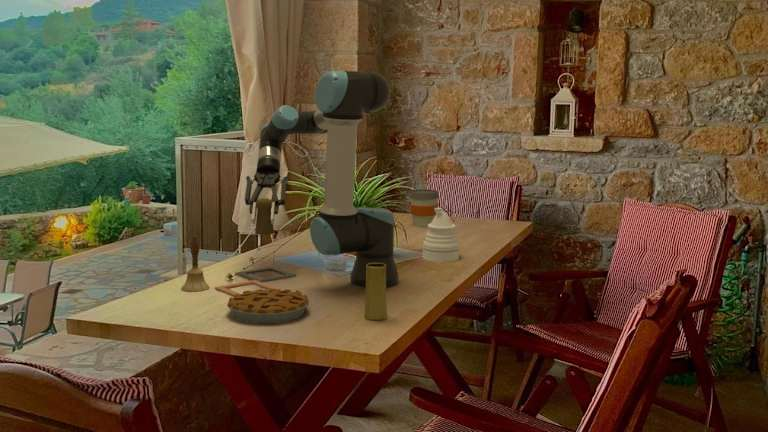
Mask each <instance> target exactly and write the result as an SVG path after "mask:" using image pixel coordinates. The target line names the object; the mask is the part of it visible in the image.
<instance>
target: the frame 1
mask: <svg viewBox="0 0 768 432" xmlns="http://www.w3.org/2000/svg"><path fill="white" fill-rule="evenodd" d="M250 285H253V286H257V287H259V288H262V289H264V290H270V289H271V288H272V289H277V290H281V288H279V287H276V286H273V285H271V284H268V283H266V282H259V281H257V280H248V281H247V280H246V281H242V282H236V283H231V284H225V285H219V286H214V289H215V290H216V291H219V292H221V293H223V294H225V295H229V296H231V297H232V298H233V297H234V295H235V294H241V293H239V292H237V291H235V290H231V289H234V288H238V287H244V286H250Z"/></svg>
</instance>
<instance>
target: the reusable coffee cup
mask: <svg viewBox="0 0 768 432" xmlns="http://www.w3.org/2000/svg"><path fill="white" fill-rule="evenodd" d="M409 199H410V204H409V208H410V214H411V216H412V226H413V227H416V228H428V227H427V225H428V224H430V223H431V222H432V220H433V219H434V217H435V216H436V214H437V213H436V212H435V209H434V208H439V207H438V205H439V204H438V199H440V198H439V191H438V190H435V189H423V188H422V189H421V188H419V189H411V190H410V191H409Z"/></svg>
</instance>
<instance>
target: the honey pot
mask: <svg viewBox="0 0 768 432" xmlns="http://www.w3.org/2000/svg"><path fill="white" fill-rule="evenodd" d="M434 209H435V212H436V213H437V214H436V215H435V217H434V219H433V220H432V222H431V223H430V224H428V225H427V227H426V228H428V230H427V231H426V234H425V237H424V241H423V244H422V247H423V248H422V258H423V259H424V260H425V261H431V262H439V263H440V262H443V263H446V262H448V263H449V262H454V261H457V260H459V258H460V249H459V248H460V242H459V240H458V237H457V233H456V230H455V229H456V227H457V226H456V224H454V223H453V222H452V220H451V218H450V217H449V215H448V213H446V212H445V211H443V209H442V207H437V208H434Z"/></svg>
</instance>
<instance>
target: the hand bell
mask: <svg viewBox="0 0 768 432" xmlns="http://www.w3.org/2000/svg"><path fill="white" fill-rule="evenodd" d="M189 245H190V247H189V250H190V253H191V258H192V259H191V260H192V262H191V269H188V270H187V274H186V275H187V276H186V280H185V282H184V283H183V285H182V286H181V288H180V289H181V290H182V291H184V292H189V291H190V292H191V293H194V292H196V293H197V292H198V291H199V292H203V291H208V290H209V289H210V286H209V284H208V283H207V282H206V280H205V277H204V272H203V269H200V268H199V262H198V261H199V260H198V258H199V252H200V242H199V239H198V236H197V235H193V236H192V237H191V241H190V244H189ZM192 291H193V292H192ZM190 292H189V293H190Z"/></svg>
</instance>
